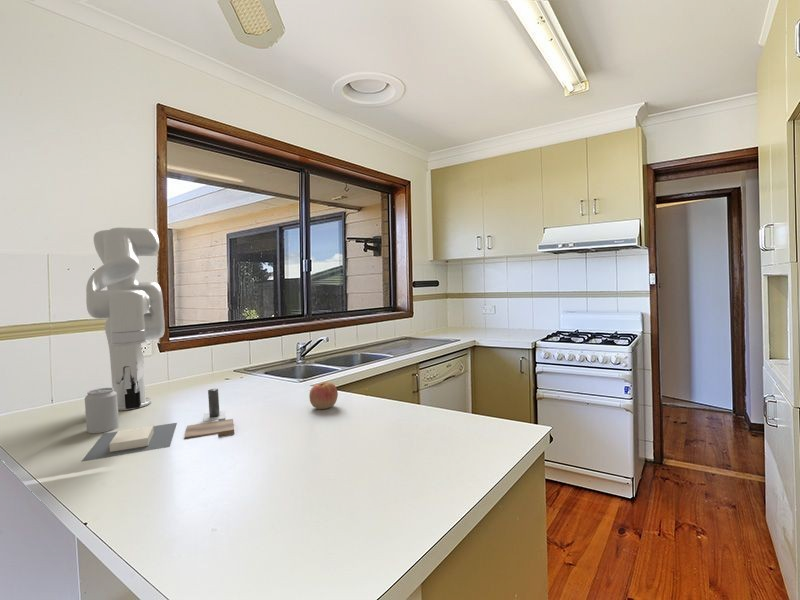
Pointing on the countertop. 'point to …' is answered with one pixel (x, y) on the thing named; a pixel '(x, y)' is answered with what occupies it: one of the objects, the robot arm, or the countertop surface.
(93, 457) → the mat
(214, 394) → the grey post stand
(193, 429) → the plate
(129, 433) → the tile
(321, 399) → the apple
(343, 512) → the countertop surface
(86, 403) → the can
